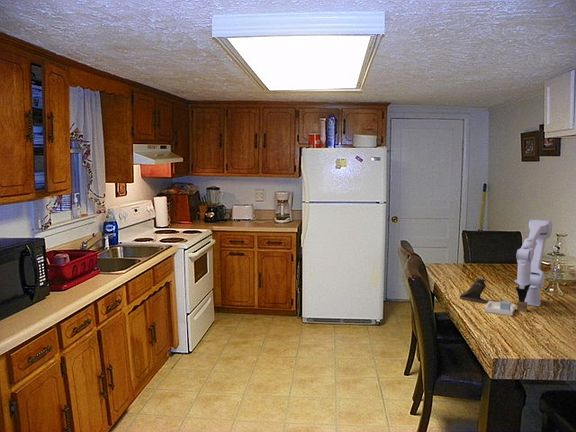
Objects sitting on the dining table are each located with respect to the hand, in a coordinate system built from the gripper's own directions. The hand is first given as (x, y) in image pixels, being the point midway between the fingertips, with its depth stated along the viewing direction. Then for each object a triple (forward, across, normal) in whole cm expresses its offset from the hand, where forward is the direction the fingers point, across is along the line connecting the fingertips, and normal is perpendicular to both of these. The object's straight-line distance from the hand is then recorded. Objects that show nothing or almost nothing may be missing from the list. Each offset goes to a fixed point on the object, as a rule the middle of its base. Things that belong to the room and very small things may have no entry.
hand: (522, 299), depth 218 cm
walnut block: (+5, 0, 0) cm, 5 cm away
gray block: (+5, +7, -7) cm, 11 cm away
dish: (+5, +7, -9) cm, 13 cm away
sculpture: (+6, -5, -24) cm, 25 cm away
